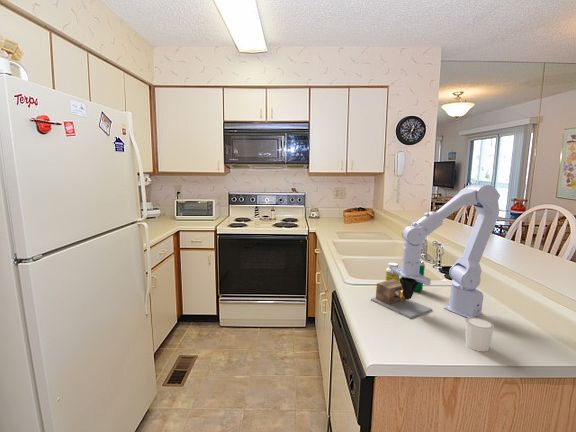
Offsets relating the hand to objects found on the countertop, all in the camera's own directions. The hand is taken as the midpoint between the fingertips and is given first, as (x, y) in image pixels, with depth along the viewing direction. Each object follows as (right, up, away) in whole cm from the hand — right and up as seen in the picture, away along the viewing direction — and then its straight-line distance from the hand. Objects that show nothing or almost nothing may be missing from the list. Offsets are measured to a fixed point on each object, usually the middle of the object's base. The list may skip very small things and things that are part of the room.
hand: (407, 298), depth 112 cm
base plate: (-2, -3, +3) cm, 5 cm away
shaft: (-4, -1, +5) cm, 7 cm away
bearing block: (-4, -3, +7) cm, 8 cm away
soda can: (+10, -1, +18) cm, 21 cm away
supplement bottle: (+1, -1, +22) cm, 22 cm away
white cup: (+11, -8, -23) cm, 26 cm away
